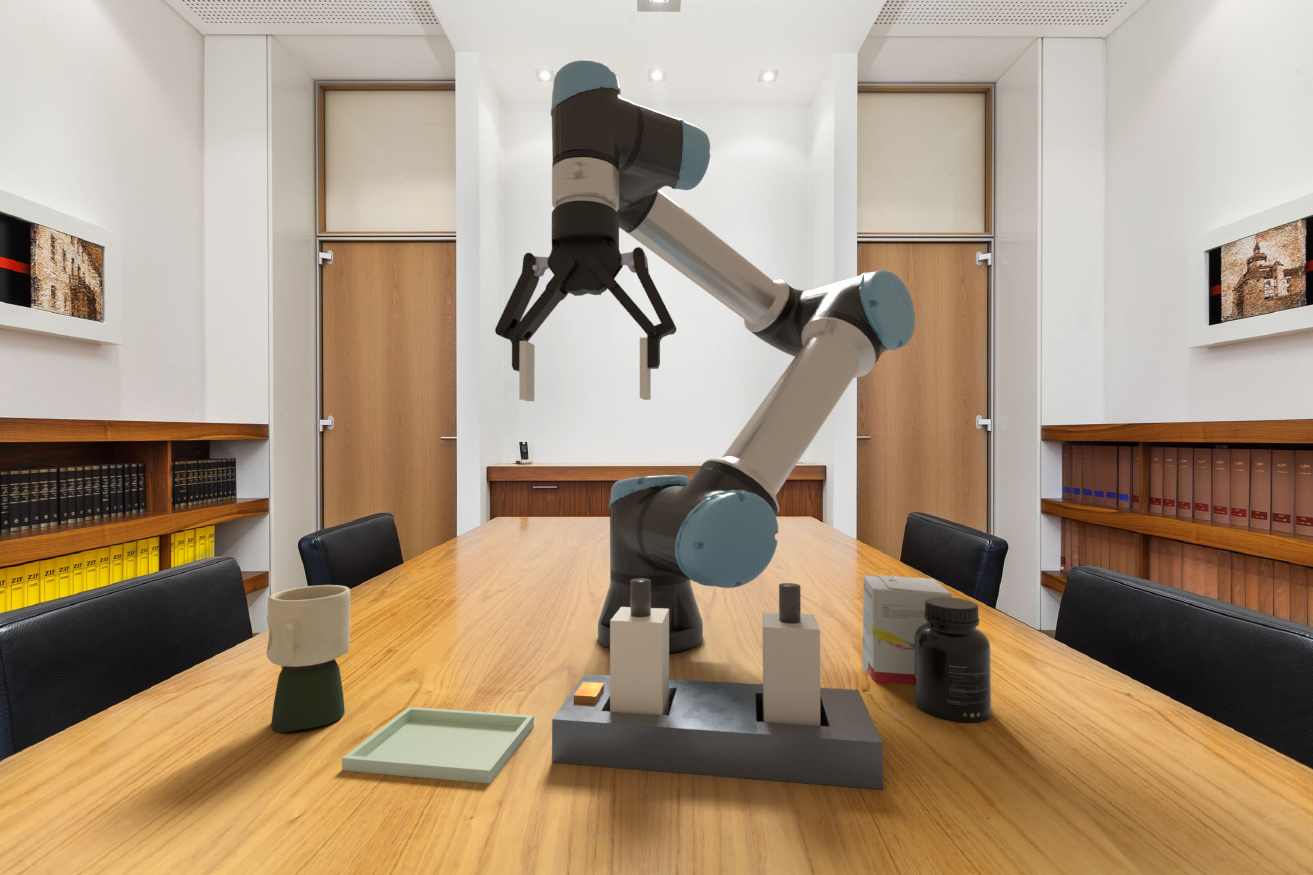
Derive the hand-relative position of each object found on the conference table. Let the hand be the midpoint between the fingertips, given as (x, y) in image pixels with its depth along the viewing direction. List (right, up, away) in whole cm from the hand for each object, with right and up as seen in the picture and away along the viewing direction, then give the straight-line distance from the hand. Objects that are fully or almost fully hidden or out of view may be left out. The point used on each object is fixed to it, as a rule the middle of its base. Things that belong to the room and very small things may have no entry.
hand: (585, 400), depth 67 cm
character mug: (-26, -33, -8) cm, 43 cm away
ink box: (+37, -33, +3) cm, 50 cm away
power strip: (+13, -32, -15) cm, 38 cm away
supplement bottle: (+37, -33, -7) cm, 50 cm away
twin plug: (+19, -31, -16) cm, 40 cm away
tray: (-11, -32, -13) cm, 37 cm away
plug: (+7, -31, -14) cm, 35 cm away
